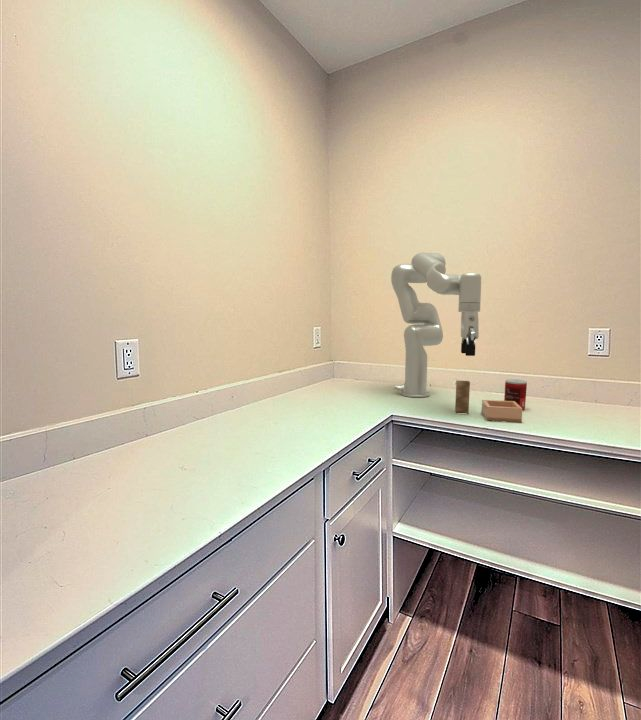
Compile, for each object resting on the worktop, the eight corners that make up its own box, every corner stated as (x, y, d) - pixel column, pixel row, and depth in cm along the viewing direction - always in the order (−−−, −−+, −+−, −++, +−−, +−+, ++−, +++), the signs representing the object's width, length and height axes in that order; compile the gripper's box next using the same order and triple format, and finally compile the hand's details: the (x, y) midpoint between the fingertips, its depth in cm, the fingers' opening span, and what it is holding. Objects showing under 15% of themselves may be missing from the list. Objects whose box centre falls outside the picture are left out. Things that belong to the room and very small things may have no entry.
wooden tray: (486, 420, 148) (487, 406, 147) (481, 412, 159) (482, 399, 158) (521, 422, 145) (522, 408, 145) (514, 414, 157) (514, 401, 156)
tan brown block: (455, 413, 158) (457, 381, 156) (455, 411, 161) (456, 380, 159) (468, 414, 157) (469, 382, 155) (467, 412, 160) (468, 380, 158)
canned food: (520, 406, 170) (522, 379, 168) (528, 411, 162) (530, 382, 160) (500, 405, 170) (502, 378, 169) (507, 410, 162) (509, 382, 161)
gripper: (485, 307, 145) (483, 356, 147) (475, 308, 162) (473, 352, 164) (462, 307, 147) (461, 356, 149) (455, 308, 164) (453, 352, 165)
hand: (467, 354), depth 156 cm, fingers open, 9 cm apart
